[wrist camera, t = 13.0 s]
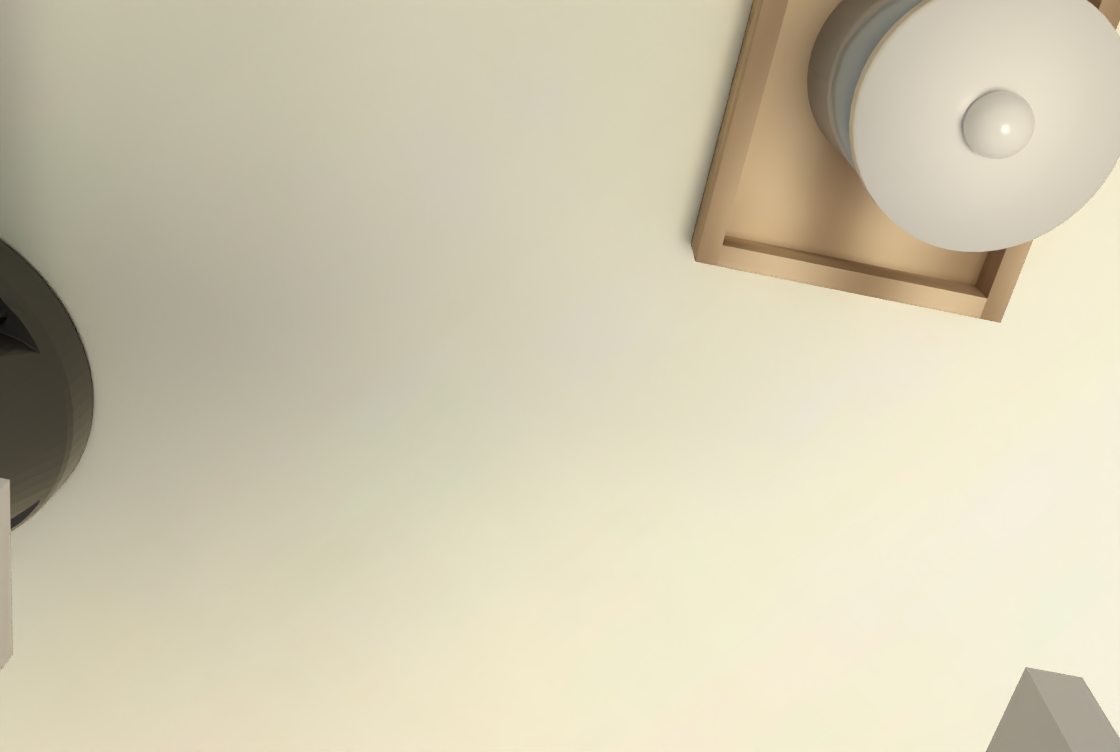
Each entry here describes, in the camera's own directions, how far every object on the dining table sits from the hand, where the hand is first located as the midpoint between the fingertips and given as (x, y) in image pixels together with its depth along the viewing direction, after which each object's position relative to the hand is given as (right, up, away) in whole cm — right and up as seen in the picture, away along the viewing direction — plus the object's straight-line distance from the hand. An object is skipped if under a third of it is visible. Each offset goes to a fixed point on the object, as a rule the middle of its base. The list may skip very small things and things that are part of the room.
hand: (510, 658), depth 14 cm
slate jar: (+13, +15, +24) cm, 31 cm away
